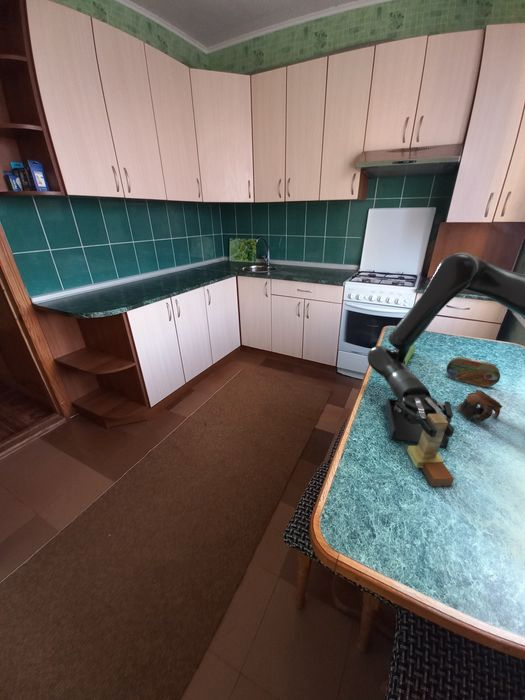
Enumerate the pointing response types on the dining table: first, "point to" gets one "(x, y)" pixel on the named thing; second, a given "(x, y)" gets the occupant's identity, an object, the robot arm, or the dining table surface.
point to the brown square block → (437, 474)
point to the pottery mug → (485, 404)
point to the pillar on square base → (429, 443)
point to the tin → (473, 371)
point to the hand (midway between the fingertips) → (442, 434)
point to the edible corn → (409, 354)
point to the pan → (405, 427)
